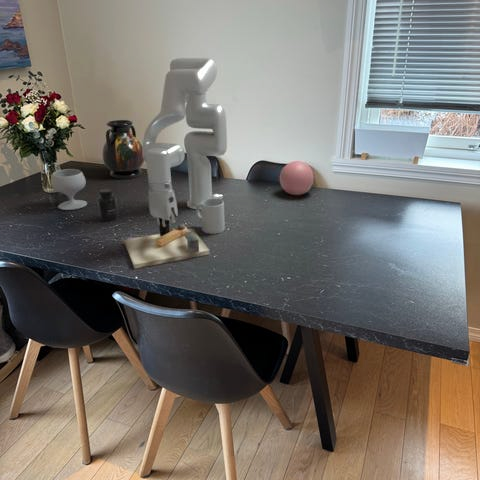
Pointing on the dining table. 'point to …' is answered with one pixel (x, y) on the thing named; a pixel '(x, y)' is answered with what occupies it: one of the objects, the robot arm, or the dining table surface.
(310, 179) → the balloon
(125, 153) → the amphora vase
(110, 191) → the supplement bottle
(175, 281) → the dining table surface
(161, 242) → the link
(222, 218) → the mug
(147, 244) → the pivot board
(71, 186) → the chalice
